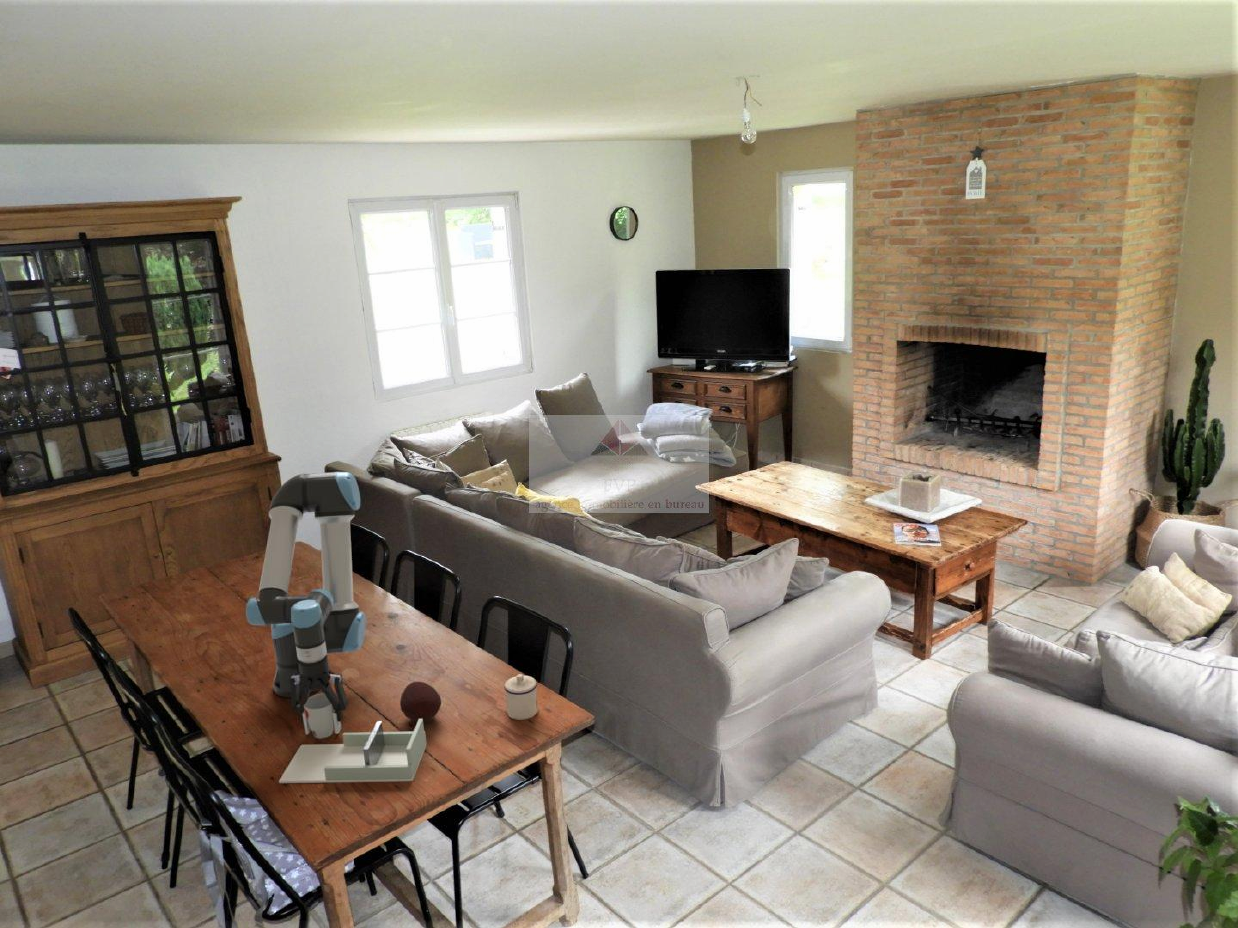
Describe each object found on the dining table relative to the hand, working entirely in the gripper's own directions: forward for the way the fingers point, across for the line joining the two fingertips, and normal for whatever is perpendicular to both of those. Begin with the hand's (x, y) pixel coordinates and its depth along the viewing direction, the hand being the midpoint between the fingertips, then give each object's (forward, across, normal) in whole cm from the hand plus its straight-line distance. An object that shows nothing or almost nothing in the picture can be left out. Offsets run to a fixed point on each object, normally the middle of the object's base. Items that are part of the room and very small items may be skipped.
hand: (323, 731), depth 248 cm
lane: (+1, +13, -14) cm, 19 cm away
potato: (+1, +26, +6) cm, 27 cm away
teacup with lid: (+1, +53, +10) cm, 54 cm away
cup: (+1, 0, 0) cm, 1 cm away
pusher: (0, +19, -14) cm, 23 cm away
